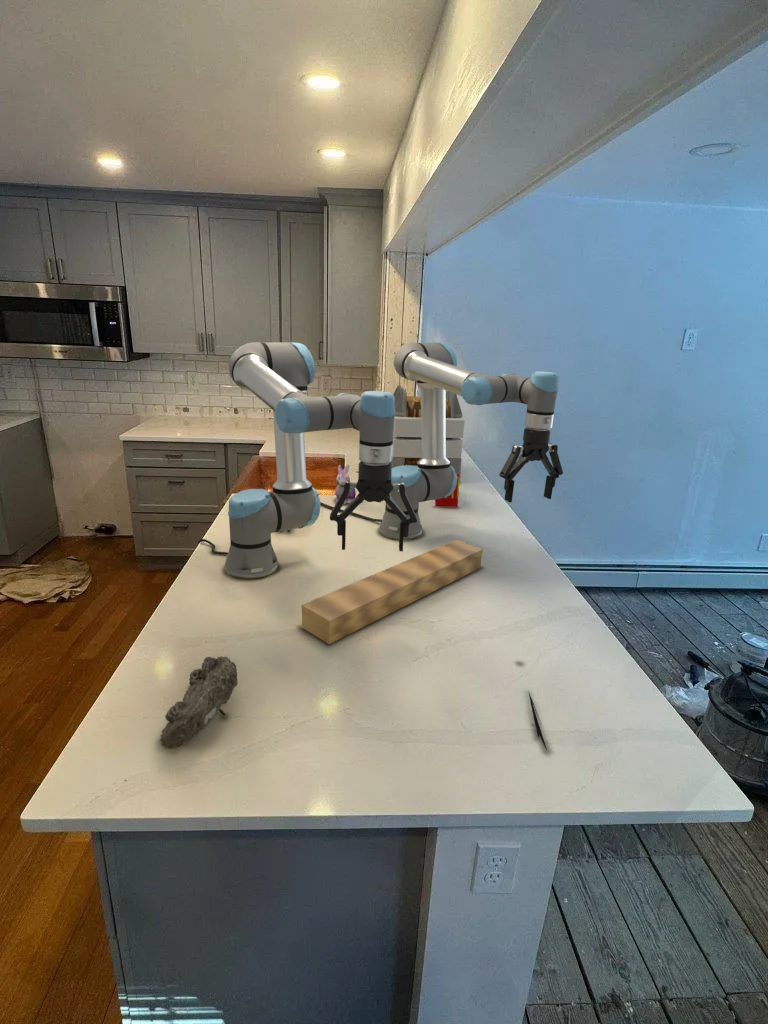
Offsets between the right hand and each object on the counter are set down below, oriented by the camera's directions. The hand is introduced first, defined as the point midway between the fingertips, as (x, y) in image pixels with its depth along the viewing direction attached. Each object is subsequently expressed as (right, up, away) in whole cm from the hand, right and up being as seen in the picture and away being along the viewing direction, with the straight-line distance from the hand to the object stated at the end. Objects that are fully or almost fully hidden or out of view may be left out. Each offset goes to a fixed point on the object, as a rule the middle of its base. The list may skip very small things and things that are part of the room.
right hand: (527, 499), depth 167 cm
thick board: (-38, -27, -9) cm, 47 cm away
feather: (-12, -43, -52) cm, 68 cm away
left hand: (-45, -12, -33) cm, 57 cm away
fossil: (-77, -43, -59) cm, 105 cm away
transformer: (-25, +15, +107) cm, 111 cm away
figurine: (-58, +1, +63) cm, 86 cm away
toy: (-18, +3, +74) cm, 76 cm away
